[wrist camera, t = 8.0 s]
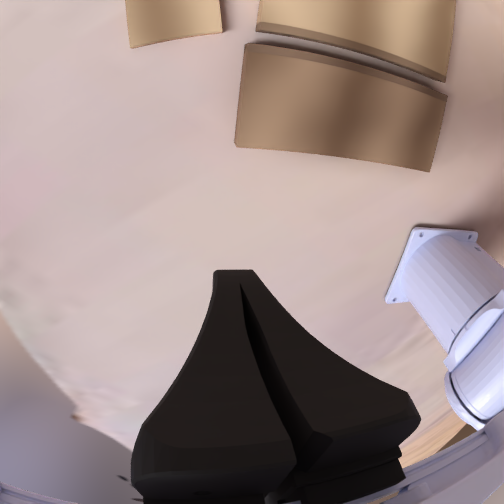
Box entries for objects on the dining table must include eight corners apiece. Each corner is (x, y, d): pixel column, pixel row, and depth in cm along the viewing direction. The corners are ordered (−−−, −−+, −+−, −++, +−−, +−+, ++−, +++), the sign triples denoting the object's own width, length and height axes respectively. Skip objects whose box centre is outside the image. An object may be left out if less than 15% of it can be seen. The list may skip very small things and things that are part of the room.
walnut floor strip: (436, 92, 17) (447, 95, 16) (420, 166, 21) (429, 172, 20) (244, 44, 15) (248, 42, 14) (234, 142, 18) (236, 147, 17)
